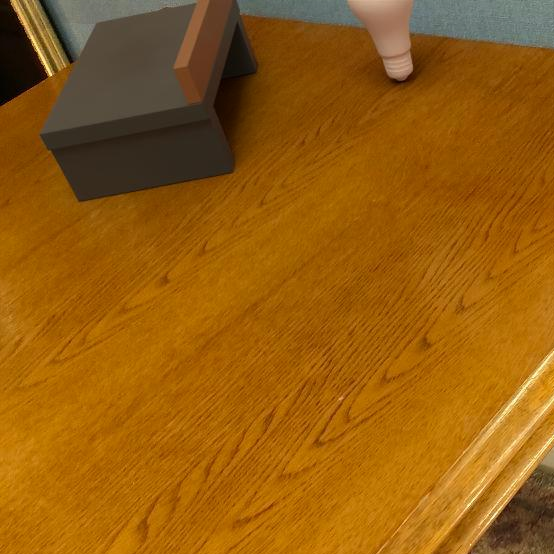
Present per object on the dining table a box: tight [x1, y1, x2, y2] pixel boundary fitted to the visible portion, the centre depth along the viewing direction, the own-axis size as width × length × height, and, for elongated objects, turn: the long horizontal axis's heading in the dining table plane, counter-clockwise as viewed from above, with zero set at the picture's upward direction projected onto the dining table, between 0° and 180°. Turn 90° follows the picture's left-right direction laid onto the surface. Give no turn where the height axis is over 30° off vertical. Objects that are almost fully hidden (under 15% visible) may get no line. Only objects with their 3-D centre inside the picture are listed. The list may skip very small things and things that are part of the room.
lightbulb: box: [346, 0, 415, 82], centre depth 90 cm, size 6×6×11 cm
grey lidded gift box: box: [38, 0, 259, 202], centre depth 91 cm, size 14×23×10 cm, turn 5°
